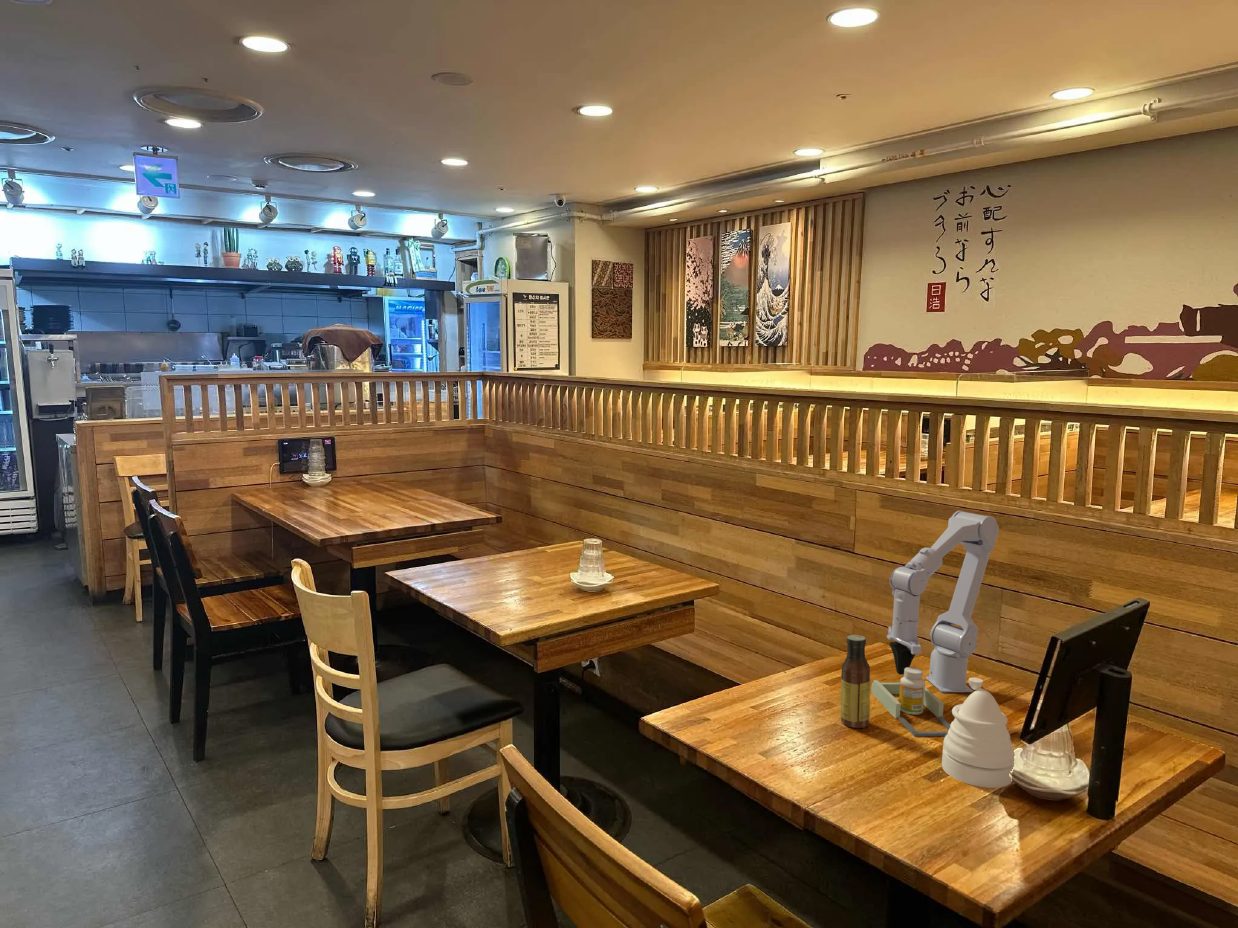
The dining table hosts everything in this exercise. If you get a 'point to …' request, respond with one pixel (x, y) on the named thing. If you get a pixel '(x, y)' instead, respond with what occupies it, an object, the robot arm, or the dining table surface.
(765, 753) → the dining table surface
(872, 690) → the pale green open frame
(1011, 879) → the dining table surface
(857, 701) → the sauce bottle
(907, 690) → the supplement bottle
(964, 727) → the honey pot
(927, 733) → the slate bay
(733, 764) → the dining table surface
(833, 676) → the dining table surface
